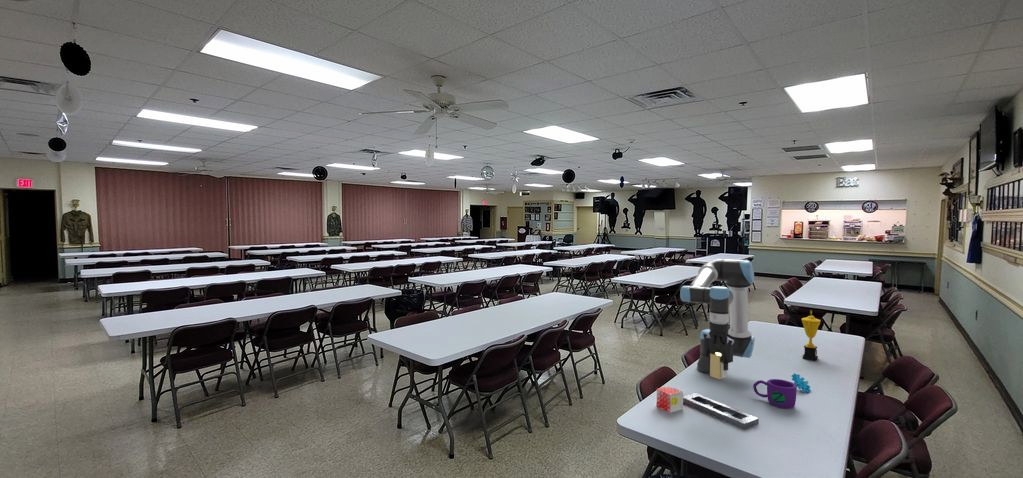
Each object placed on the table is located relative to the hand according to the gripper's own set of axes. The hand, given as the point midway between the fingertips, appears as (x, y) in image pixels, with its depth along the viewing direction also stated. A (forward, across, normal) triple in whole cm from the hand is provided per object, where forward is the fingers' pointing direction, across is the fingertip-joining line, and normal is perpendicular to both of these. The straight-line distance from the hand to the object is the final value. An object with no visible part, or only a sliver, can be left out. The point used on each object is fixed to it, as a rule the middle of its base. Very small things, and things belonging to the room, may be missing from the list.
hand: (718, 375), depth 183 cm
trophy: (+16, -20, +118) cm, 121 cm away
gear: (+17, +4, +59) cm, 62 cm away
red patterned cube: (+17, -14, -14) cm, 26 cm away
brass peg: (+1, 0, 0) cm, 1 cm away
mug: (+17, +6, +32) cm, 37 cm away
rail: (+17, 0, 0) cm, 17 cm away
